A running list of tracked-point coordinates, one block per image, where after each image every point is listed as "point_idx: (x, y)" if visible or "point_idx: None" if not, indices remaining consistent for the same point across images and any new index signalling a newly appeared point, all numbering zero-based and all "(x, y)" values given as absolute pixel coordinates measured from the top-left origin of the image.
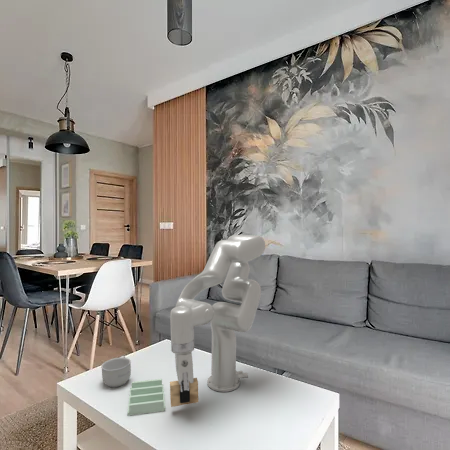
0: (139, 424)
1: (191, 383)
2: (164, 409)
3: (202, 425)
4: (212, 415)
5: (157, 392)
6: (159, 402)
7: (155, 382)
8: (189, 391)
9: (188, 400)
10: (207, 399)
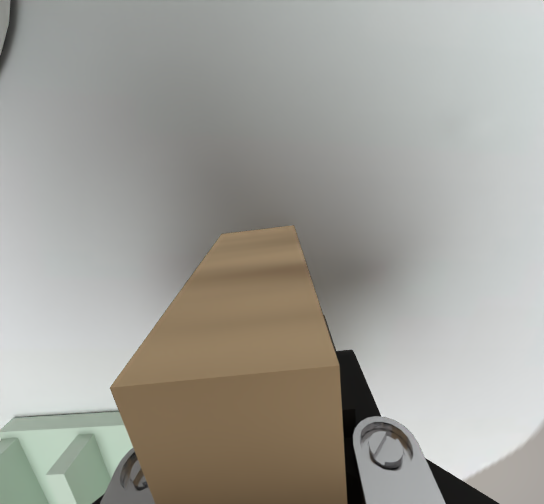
0: None
1: (342, 475)
2: None
3: (449, 191)
4: (350, 106)
5: (99, 460)
6: None
7: (7, 495)
8: (349, 392)
9: None
10: (136, 135)
